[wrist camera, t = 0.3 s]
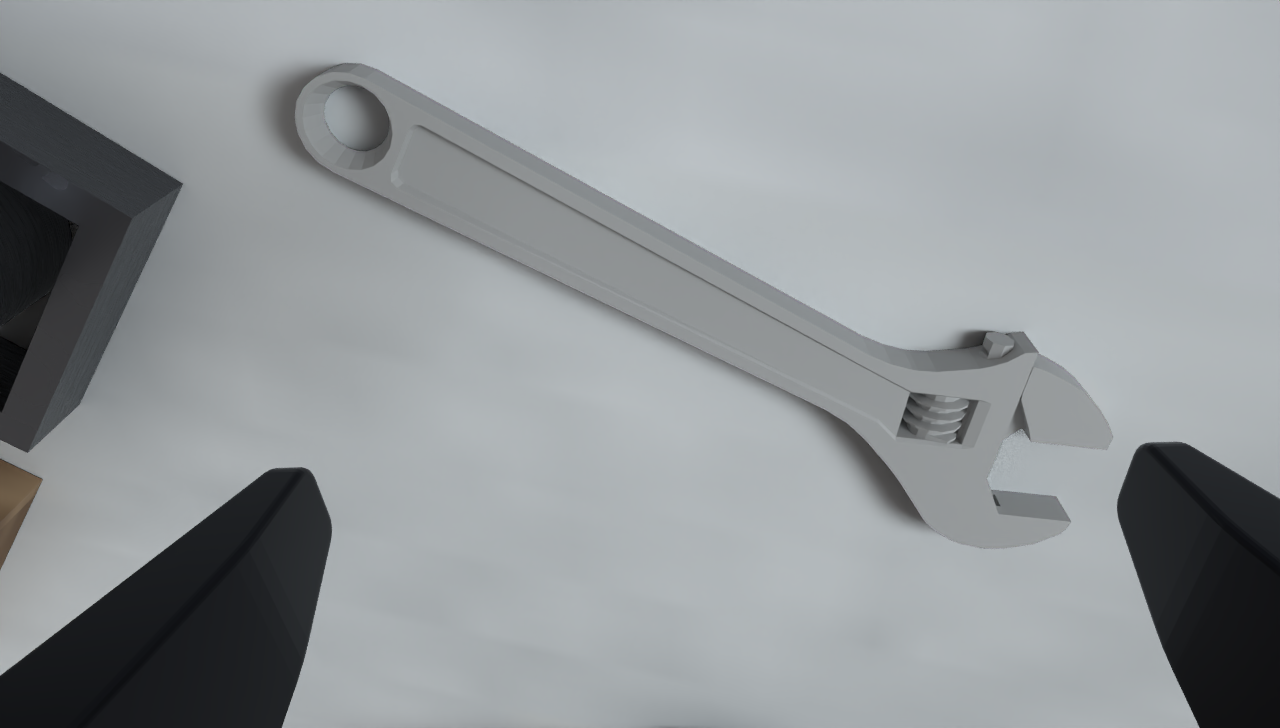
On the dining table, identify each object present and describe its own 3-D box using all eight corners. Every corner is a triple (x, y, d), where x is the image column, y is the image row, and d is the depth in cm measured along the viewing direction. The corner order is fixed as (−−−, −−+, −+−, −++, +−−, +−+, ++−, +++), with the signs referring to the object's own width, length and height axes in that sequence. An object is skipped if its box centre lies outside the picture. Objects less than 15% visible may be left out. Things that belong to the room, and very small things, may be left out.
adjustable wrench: (299, 130, 23) (272, 149, 21) (402, -101, 20) (379, -97, 18) (988, 538, 29) (1006, 576, 27) (1141, 408, 26) (1170, 442, 25)
